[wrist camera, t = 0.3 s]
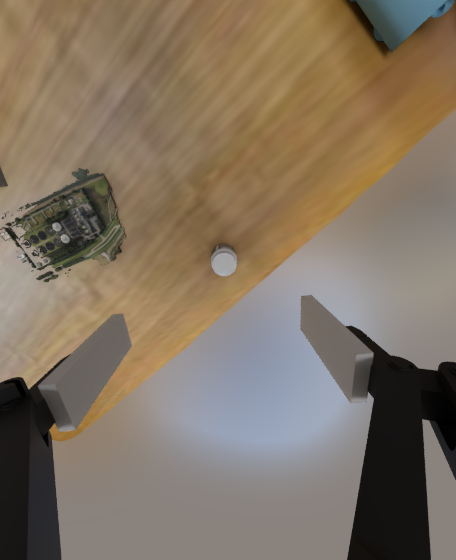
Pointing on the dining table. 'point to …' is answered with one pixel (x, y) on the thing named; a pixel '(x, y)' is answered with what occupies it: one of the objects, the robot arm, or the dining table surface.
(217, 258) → the pill bottle
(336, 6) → the dining table surface
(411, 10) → the teapot
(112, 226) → the treatment plant
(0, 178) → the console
